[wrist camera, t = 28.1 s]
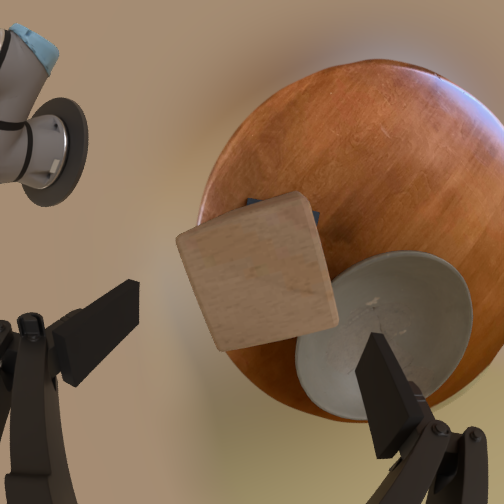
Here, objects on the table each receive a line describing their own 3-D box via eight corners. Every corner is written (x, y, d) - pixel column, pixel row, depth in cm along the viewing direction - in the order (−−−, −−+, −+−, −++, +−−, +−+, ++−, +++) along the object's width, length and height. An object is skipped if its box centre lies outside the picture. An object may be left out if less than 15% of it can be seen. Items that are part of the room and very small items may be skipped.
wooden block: (229, 211, 39) (171, 237, 20) (298, 189, 37) (307, 194, 18) (251, 277, 41) (217, 354, 22) (318, 259, 39) (341, 328, 20)
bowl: (304, 401, 46) (305, 433, 38) (282, 254, 40) (280, 272, 32) (440, 371, 41) (457, 397, 33) (451, 226, 35) (480, 236, 27)
